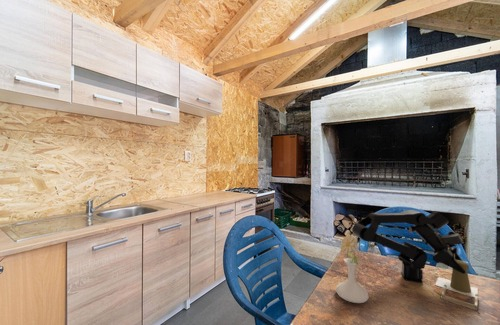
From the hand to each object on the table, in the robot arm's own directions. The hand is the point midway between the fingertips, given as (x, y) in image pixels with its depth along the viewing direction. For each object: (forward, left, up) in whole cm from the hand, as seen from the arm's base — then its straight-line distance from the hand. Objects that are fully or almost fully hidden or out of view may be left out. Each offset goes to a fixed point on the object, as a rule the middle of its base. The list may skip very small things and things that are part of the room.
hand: (465, 270), depth 84 cm
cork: (-1, +1, -8) cm, 8 cm away
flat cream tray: (-5, -8, -8) cm, 12 cm away
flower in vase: (-42, -22, -8) cm, 48 cm away
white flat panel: (-2, +1, -8) cm, 8 cm away
